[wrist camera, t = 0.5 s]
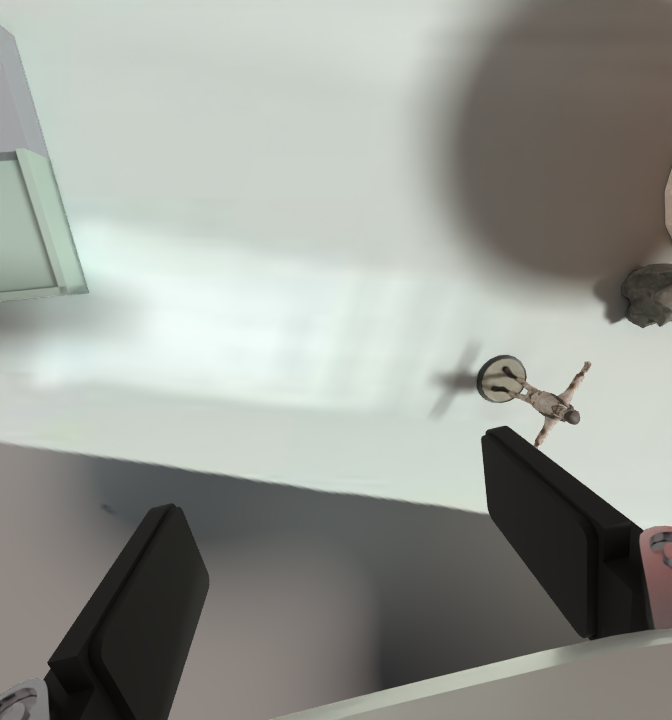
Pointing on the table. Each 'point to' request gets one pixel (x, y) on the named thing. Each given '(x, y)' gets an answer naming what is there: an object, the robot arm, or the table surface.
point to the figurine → (509, 378)
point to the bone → (649, 295)
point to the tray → (35, 233)
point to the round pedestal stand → (668, 205)
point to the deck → (16, 105)
